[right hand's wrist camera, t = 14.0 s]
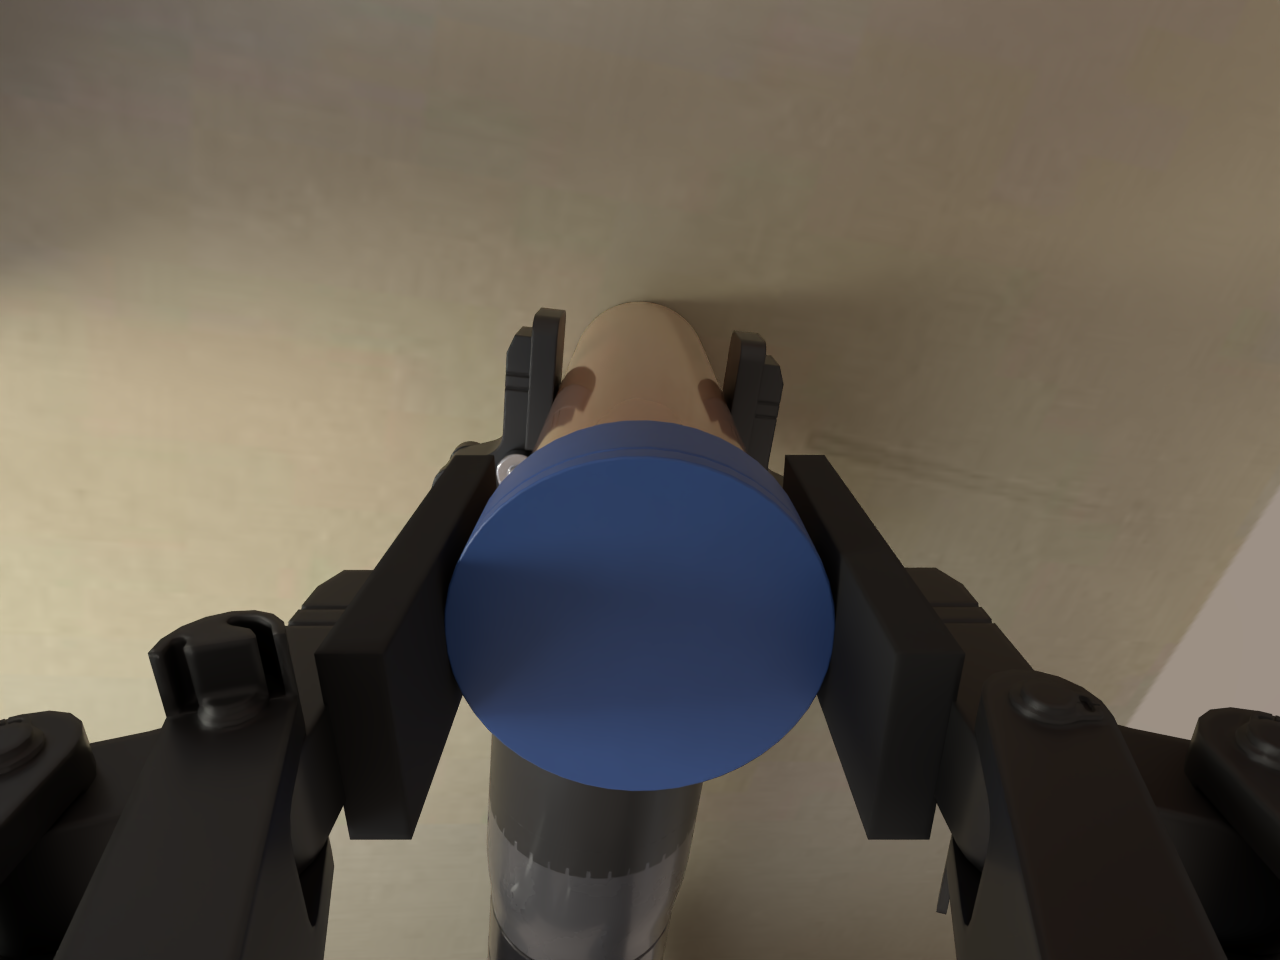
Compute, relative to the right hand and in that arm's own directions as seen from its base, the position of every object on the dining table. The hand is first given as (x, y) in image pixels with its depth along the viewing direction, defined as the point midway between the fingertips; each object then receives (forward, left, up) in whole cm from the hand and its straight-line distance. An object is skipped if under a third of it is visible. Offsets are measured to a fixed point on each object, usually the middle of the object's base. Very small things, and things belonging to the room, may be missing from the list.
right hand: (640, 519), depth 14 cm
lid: (0, 0, +4) cm, 4 cm away
